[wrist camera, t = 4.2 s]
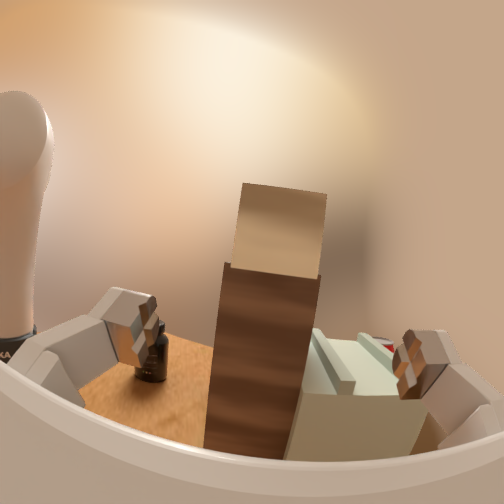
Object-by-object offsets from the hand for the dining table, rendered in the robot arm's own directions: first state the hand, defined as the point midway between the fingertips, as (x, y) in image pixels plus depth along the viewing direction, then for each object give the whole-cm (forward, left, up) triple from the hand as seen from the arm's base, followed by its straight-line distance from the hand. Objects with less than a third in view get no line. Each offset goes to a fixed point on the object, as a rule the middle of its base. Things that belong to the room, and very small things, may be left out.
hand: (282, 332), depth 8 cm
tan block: (+7, +13, +2) cm, 15 cm away
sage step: (+17, +12, -24) cm, 32 cm away
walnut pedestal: (+10, +17, -24) cm, 31 cm away
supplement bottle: (+3, +47, -25) cm, 53 cm away
